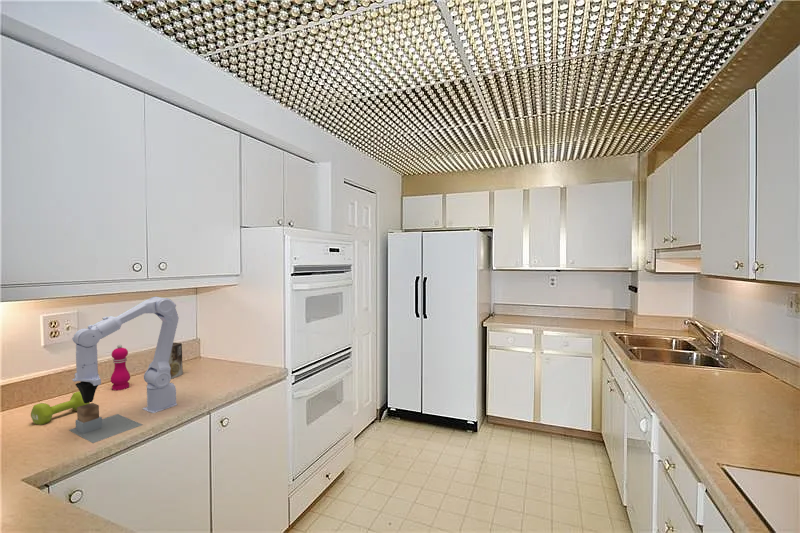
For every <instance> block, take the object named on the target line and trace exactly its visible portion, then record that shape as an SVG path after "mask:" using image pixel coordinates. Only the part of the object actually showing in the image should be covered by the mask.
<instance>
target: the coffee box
mask: <svg viewBox="0 0 800 533" xmlns="http://www.w3.org/2000/svg"><path fill="white" fill-rule="evenodd" d="M169 365H170V368H171V370H170V375H171V380H173V379H174V378H177V377H180V376H182V375H184V373H183V372H184V371H183V366H184V365H183V344H182V343H181V342H173V345H172V349H171V354H170V358H169Z"/></svg>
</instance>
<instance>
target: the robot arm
mask: <svg viewBox="0 0 800 533" xmlns="http://www.w3.org/2000/svg"><path fill="white" fill-rule="evenodd" d="M176 307H177V304H176V303H175V302H174V301H173V300H172V299H170V298H168V297H159V296H152V297H150V298H148V299H145V300H143V301H141V302H140V303H138V304H137V305H134V306H133V307H131V308H130V309H128V310H126V311H124V312H122V313H121V314H118V315H117V316H114V315H110V316H106V315H105V316H103V317H102V320H100V321H98V322H95V323H94V324H88V325H87V328H80V329H78V330H77V331H76V332H75V333H74V335H73V337H72V339H71V340H72V341H73V343H74V344H75V366H76V368H75V369H76V372H75V373H74V378H72V381H73V382H76V383H75V386H76V388H77V389H78V391H80V393H81V396H82V399H83V402H84V403H89V402H90V403H93V401H94V399H95V398H94V397H95V394H96V391H97V388H98V387H99V385H102V379H101V378H100V374H99V369H98V368H99V365H98V361H99V360H98V344H99V342H100V340H103V339H104V338H106V337H108V336H109V335H112V334H113V333H115V332H117V331H119V330H120V329H121V327H122V325H123V324H125V323H127V322H130V321H132V320H134V319H136V318H137V317H140V316H142V315H144V314H154V315H155V316H157V317H158V319H159V320H160V321H162V322H161V326H160V331H159V335H158V338H157V343H156V347H155V351H154V355H153V359H152V361H151V362H150V363H149V364H148V368H147V370H146V371H145V372H144V374H143V380H144V381H145V383H146V384H147V385H146V407H142V410H144V411H146V412H148V413H151V414H155V413H158V412H162V411H164V410H166V409H170V408H172V407H175V406H178V403H177V388H176V385H175V384H174V383H173V382H171V380H172V379H171V375H170V370H171V368H170V365H169V358H170V354H171V349H172V345H173V343H174V340H175V337H176V332H177V328H178V324H179V319H180V318H179V317H180V316H179V315H178V311H177V308H176ZM90 403H89V404H90Z"/></svg>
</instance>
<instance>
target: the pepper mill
mask: <svg viewBox="0 0 800 533" xmlns="http://www.w3.org/2000/svg"><path fill="white" fill-rule="evenodd" d="M128 355H129V351H128V349H127V348H125V347H123V345H122V344H117V346H116V348H115V349H113V350H112V352H111V357H112V358H113V359H112V360H113V361H112V363H114V369H113V372H112V373H111V376H110V383H111V384H112V386H111V389H112V391H122V390H126V389H128V388H129V387H130V382H129V381H130V380H131V374H130V372H129V371H128V369H127V365H126V363H127V361H128V358H127V356H128Z"/></svg>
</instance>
